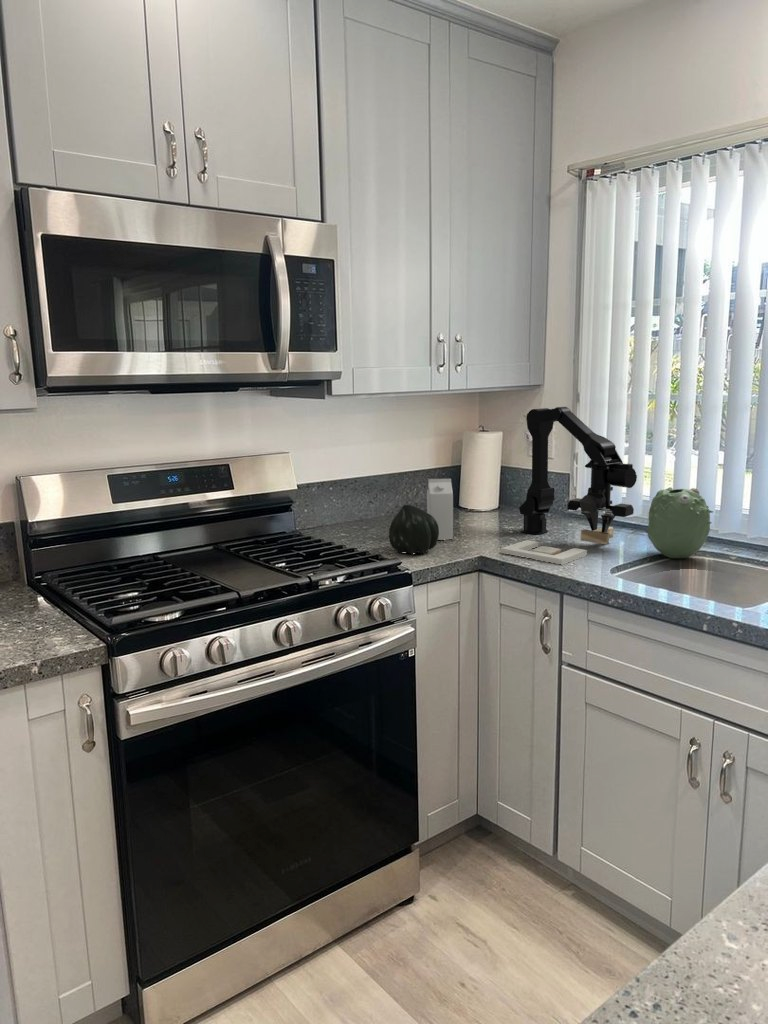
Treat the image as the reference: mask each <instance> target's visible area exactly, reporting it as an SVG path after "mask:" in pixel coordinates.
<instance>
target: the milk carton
mask: <svg viewBox="0 0 768 1024" xmlns="http://www.w3.org/2000/svg"><path fill="white" fill-rule="evenodd" d="M453 492H454V491H453V484H452V478H428V482H427V488H426V513H428V514H430V515H431V516H432V517H434V519H435V520H436V522H437V524H438V527H439V536H438V539H453V540H454V529H453V528H454V493H453Z"/></svg>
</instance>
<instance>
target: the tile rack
mask: <svg viewBox="0 0 768 1024" xmlns="http://www.w3.org/2000/svg"><path fill="white" fill-rule="evenodd" d="M535 547H537V548H539V541H536V540H529V539H526V540H523V541H519V542H516V543H514V544H510V545H507V546H504V547H501V548H500V554H501V553H508V554H514V555H520V556H524V557H528V558H532V559H537V560H542V561H541V562H543V561H547V562H546V563H548V562H551V563H550V564H553V563H556V564H555V565H559V564H561V565H560V566H564V565H565V564H568V562H569V563H570V562H574V561H576V559H577V560H580V559H582V558H584V557H587V556H588V555H587V554H588V550H587V549H581V548H576V547H574V548H571V549H568V550H565V551H561V553H559V554H556V555H549V554H544V553H538V552H533V551H532V550H533V549H532V548H535ZM528 549H532V550H529V551H527V550H528ZM535 549H536V548H535ZM581 557H582V558H581ZM532 559H531V560H532ZM537 560H536V561H537ZM573 560H574V561H573Z"/></svg>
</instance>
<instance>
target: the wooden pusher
mask: <svg viewBox="0 0 768 1024" xmlns="http://www.w3.org/2000/svg"><path fill="white" fill-rule="evenodd" d="M613 538H614V527H612V526H609V528H608V530H607V532H606V533H605V532H602V527H600V528H597V529H596V530H593V531H592V530H591V529H585V528H584V529H582V530H581V531H580V541H582V542H583V541H584V542H589V543H595V544H602V545H607V544H609V542H610V539H613Z"/></svg>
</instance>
